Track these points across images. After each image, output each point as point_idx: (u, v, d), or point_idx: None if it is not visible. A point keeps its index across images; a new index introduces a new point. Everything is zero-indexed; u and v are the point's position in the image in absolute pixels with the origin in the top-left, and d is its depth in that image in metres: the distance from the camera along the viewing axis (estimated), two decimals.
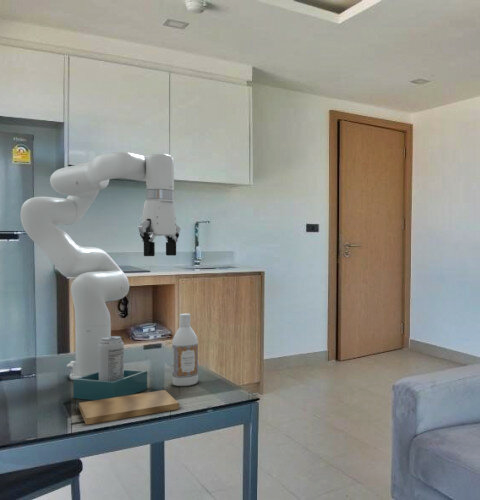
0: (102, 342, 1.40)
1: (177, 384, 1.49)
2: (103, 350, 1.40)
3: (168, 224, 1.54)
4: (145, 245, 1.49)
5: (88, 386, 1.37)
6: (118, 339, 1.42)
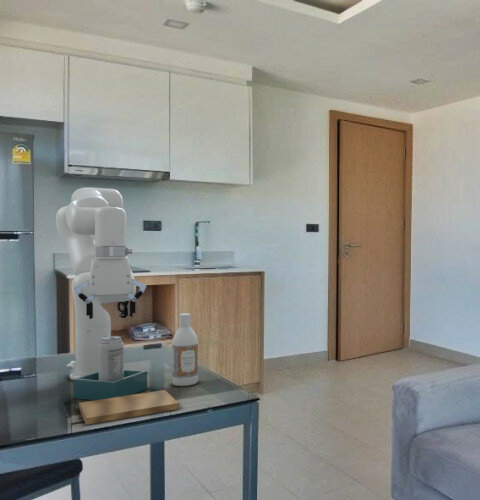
0: (102, 342, 1.40)
1: (177, 384, 1.49)
2: (103, 350, 1.40)
3: (113, 283, 1.40)
4: None
5: (88, 386, 1.37)
6: (118, 339, 1.42)
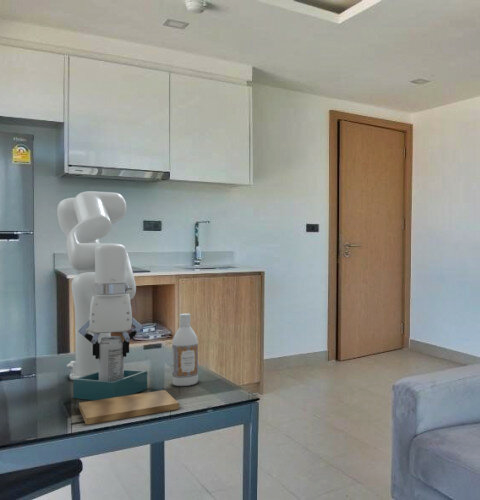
0: (102, 342, 1.40)
1: (177, 384, 1.49)
2: (103, 350, 1.40)
3: (112, 320, 1.40)
4: (92, 346, 1.41)
5: (88, 386, 1.37)
6: (118, 339, 1.42)
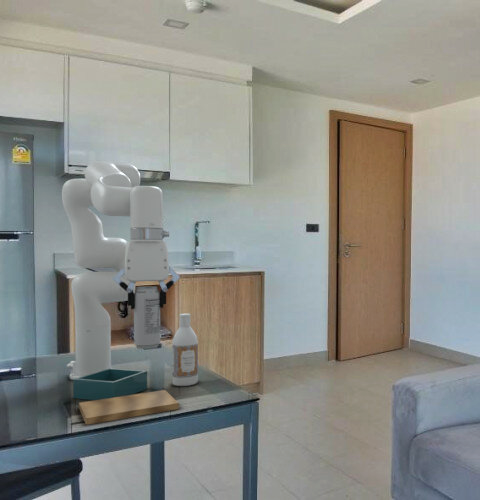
0: (138, 291, 1.31)
1: (177, 384, 1.49)
2: (139, 299, 1.30)
3: (149, 268, 1.31)
4: (127, 296, 1.31)
5: (88, 386, 1.37)
6: (155, 288, 1.32)
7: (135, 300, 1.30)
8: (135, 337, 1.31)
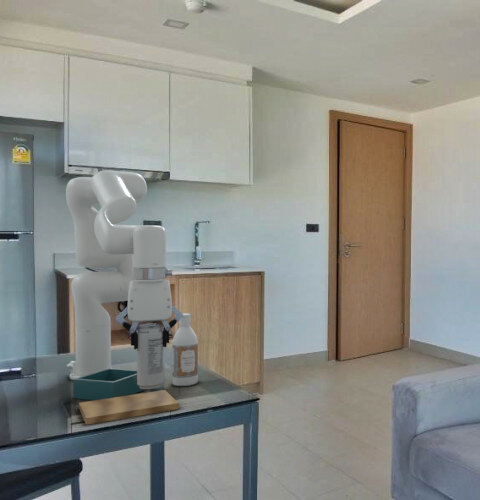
0: (141, 331, 1.30)
1: (177, 384, 1.49)
2: (142, 339, 1.29)
3: (152, 308, 1.30)
4: None
5: (88, 386, 1.37)
6: (158, 328, 1.31)
7: (138, 340, 1.30)
8: (138, 377, 1.30)
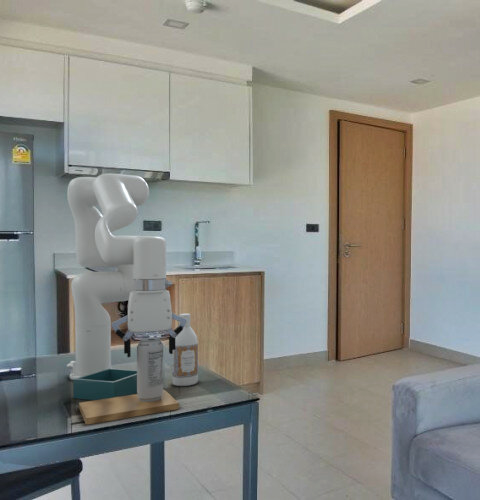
0: (141, 344, 1.30)
1: (177, 384, 1.49)
2: (142, 352, 1.29)
3: (152, 319, 1.30)
4: (124, 343, 1.30)
5: (88, 386, 1.37)
6: (158, 340, 1.32)
7: (138, 353, 1.30)
8: (138, 390, 1.30)
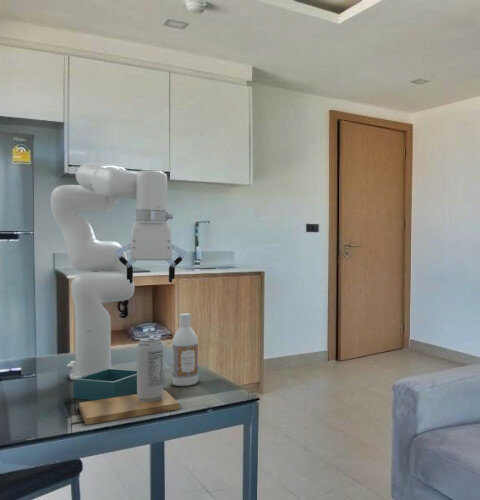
0: (141, 344, 1.30)
1: (177, 384, 1.49)
2: (142, 352, 1.29)
3: (153, 248, 1.39)
4: (126, 270, 1.39)
5: (88, 386, 1.37)
6: (158, 340, 1.32)
7: (138, 353, 1.30)
8: (138, 390, 1.30)
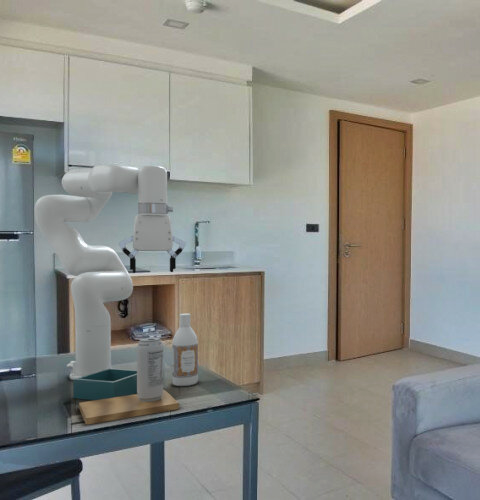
0: (141, 344, 1.30)
1: (177, 384, 1.49)
2: (142, 352, 1.29)
3: (155, 239, 1.46)
4: None
5: (88, 386, 1.37)
6: (158, 340, 1.32)
7: (138, 353, 1.30)
8: (138, 390, 1.30)
